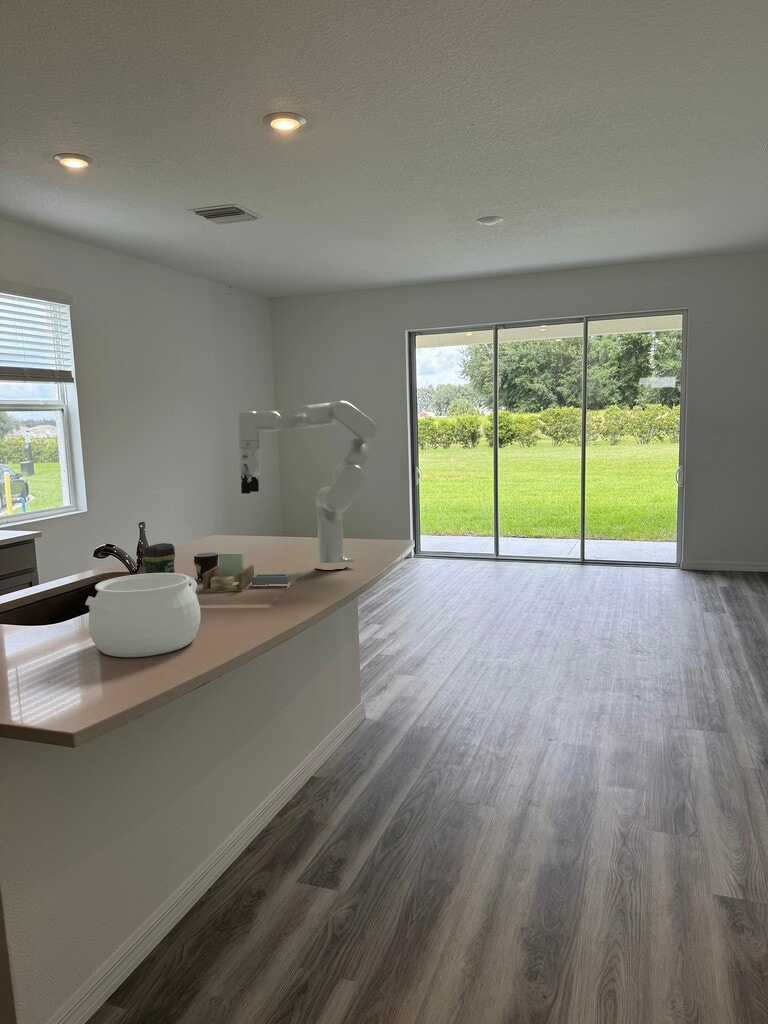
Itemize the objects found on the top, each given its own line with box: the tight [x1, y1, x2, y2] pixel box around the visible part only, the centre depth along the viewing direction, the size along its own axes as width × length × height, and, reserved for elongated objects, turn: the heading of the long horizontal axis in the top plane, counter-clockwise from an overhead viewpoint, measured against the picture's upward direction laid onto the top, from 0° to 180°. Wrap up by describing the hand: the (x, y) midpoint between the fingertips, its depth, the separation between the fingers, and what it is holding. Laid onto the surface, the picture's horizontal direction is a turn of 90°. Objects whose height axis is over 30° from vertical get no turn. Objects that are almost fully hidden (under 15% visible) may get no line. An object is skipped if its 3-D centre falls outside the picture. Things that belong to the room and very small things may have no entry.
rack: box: [202, 564, 255, 593], centre depth 236 cm, size 13×15×7 cm
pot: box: [84, 573, 202, 658], centre depth 174 cm, size 29×26×16 cm
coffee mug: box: [193, 551, 219, 580], centre depth 252 cm, size 12×9×10 cm
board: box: [218, 552, 245, 582], centre depth 239 cm, size 8×2×11 cm, turn 85°
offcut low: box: [211, 582, 239, 588], centre depth 233 cm, size 9×4×2 cm, turn 85°
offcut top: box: [211, 576, 235, 585], centre depth 232 cm, size 7×4×2 cm, turn 90°
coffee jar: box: [143, 542, 176, 574], centre depth 221 cm, size 10×8×19 cm
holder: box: [251, 573, 291, 586], centre depth 237 cm, size 12×6×4 cm, turn 85°
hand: (250, 492), depth 255 cm, fingers open, 9 cm apart
